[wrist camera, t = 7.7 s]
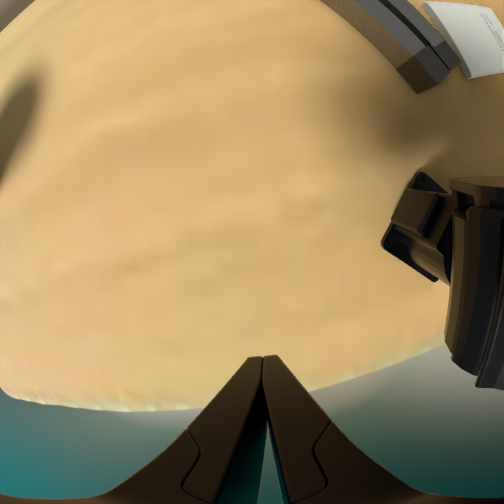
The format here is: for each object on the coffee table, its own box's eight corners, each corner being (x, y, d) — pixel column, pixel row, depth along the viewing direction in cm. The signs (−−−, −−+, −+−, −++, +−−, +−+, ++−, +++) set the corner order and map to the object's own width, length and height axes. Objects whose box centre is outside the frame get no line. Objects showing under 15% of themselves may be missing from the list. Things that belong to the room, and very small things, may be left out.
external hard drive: (418, 6, 13) (483, 10, 11) (463, 80, 15) (517, 71, 13) (425, -1, 12) (490, 6, 10) (473, 77, 13) (526, 69, 12)
